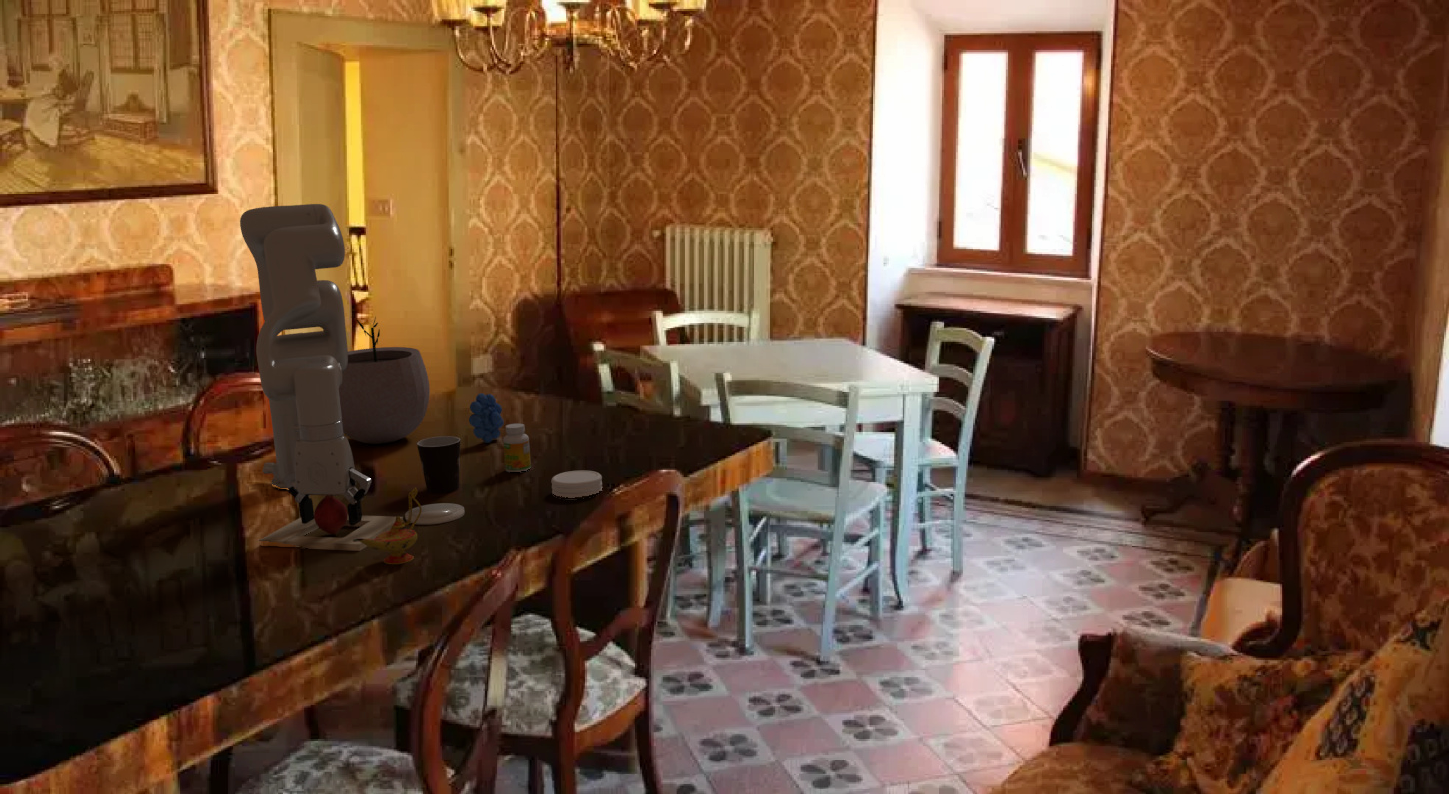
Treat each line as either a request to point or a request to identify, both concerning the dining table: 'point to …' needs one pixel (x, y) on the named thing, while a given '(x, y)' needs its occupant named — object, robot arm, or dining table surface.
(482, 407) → the grapes
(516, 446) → the supplement bottle
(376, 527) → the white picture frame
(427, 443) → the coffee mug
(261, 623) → the dining table surface
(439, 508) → the saucer
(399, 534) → the magic lamp
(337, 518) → the onion
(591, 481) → the white round container
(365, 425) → the plant pot
